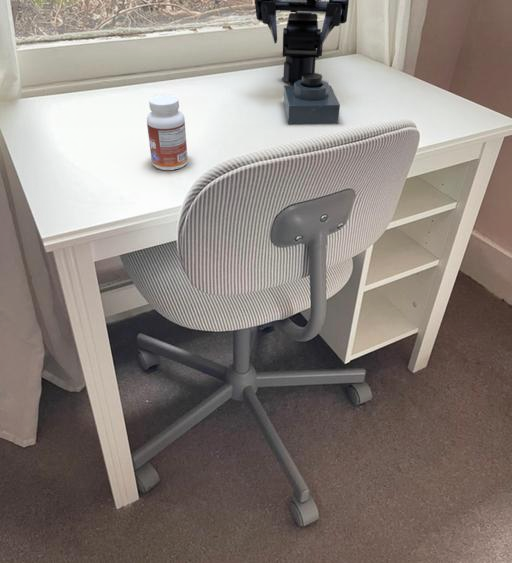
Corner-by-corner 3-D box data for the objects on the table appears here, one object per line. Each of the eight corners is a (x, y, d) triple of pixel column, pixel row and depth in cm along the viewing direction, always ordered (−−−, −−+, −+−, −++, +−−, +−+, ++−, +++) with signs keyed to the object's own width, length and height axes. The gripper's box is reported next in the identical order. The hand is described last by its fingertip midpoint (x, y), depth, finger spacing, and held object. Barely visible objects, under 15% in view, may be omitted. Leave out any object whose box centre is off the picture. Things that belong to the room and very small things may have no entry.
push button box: (283, 103, 116) (284, 75, 113) (329, 103, 117) (331, 74, 113) (288, 124, 107) (289, 94, 103) (338, 123, 107) (341, 93, 104)
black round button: (300, 83, 110) (301, 72, 109) (320, 83, 110) (320, 72, 109) (302, 89, 107) (303, 79, 106) (322, 89, 107) (323, 78, 106)
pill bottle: (151, 156, 94) (144, 93, 88) (186, 154, 95) (181, 91, 88) (152, 172, 90) (144, 107, 83) (189, 169, 90) (184, 104, 84)
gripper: (256, -57, 104) (248, 12, 100) (353, -55, 102) (348, 15, 98) (260, -13, 114) (253, 51, 111) (348, -11, 113) (344, 54, 109)
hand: (298, 42), depth 107 cm, fingers open, 9 cm apart
